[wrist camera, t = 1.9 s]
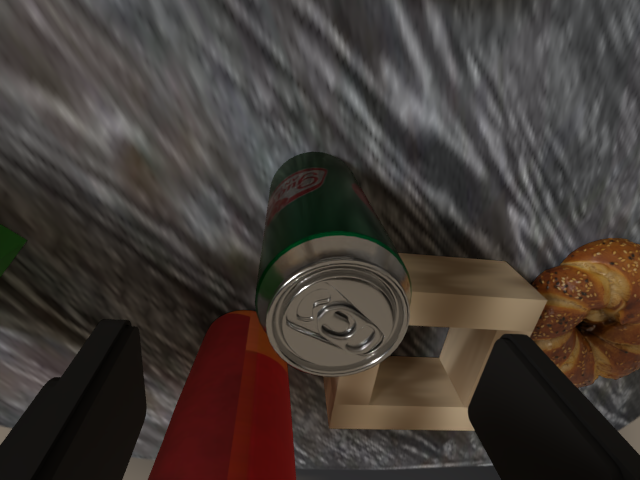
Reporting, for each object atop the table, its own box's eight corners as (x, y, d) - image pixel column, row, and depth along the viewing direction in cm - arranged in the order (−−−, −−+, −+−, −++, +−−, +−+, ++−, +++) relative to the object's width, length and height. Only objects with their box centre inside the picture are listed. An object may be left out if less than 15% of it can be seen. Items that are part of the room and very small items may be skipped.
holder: (505, 261, 25) (547, 300, 21) (458, 380, 29) (484, 430, 25) (345, 248, 23) (357, 288, 19) (323, 375, 28) (328, 428, 24)
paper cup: (185, 375, 27) (97, 648, 14) (194, 288, 24) (90, 544, 11) (290, 385, 28) (292, 644, 16) (311, 305, 25) (336, 550, 13)
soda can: (306, 130, 20) (327, 212, 9) (373, 185, 22) (458, 309, 11) (252, 200, 21) (217, 340, 11) (319, 246, 23) (346, 407, 12)
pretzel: (535, 227, 24) (575, 253, 21) (680, 236, 25) (739, 262, 22) (483, 364, 29) (509, 403, 26) (606, 366, 31) (645, 403, 27)
